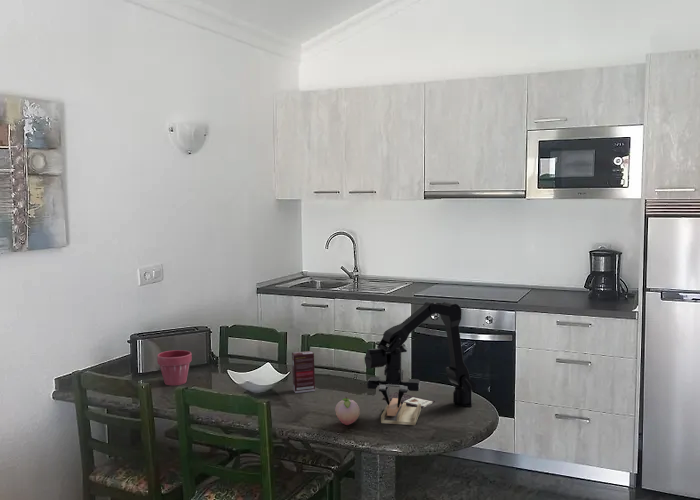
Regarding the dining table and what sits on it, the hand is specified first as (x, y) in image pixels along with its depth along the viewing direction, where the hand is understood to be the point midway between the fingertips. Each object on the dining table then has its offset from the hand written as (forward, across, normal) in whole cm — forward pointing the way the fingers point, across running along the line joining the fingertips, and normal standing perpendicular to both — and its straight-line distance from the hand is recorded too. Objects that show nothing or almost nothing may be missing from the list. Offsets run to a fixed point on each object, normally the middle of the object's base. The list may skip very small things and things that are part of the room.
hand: (394, 407), depth 244 cm
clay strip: (+1, 0, 0) cm, 1 cm away
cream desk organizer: (+3, -3, 0) cm, 4 cm away
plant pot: (+3, +99, -24) cm, 102 cm away
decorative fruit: (+4, +14, +12) cm, 19 cm away
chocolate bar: (+4, -3, -18) cm, 19 cm away
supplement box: (+4, +41, -23) cm, 47 cm away
